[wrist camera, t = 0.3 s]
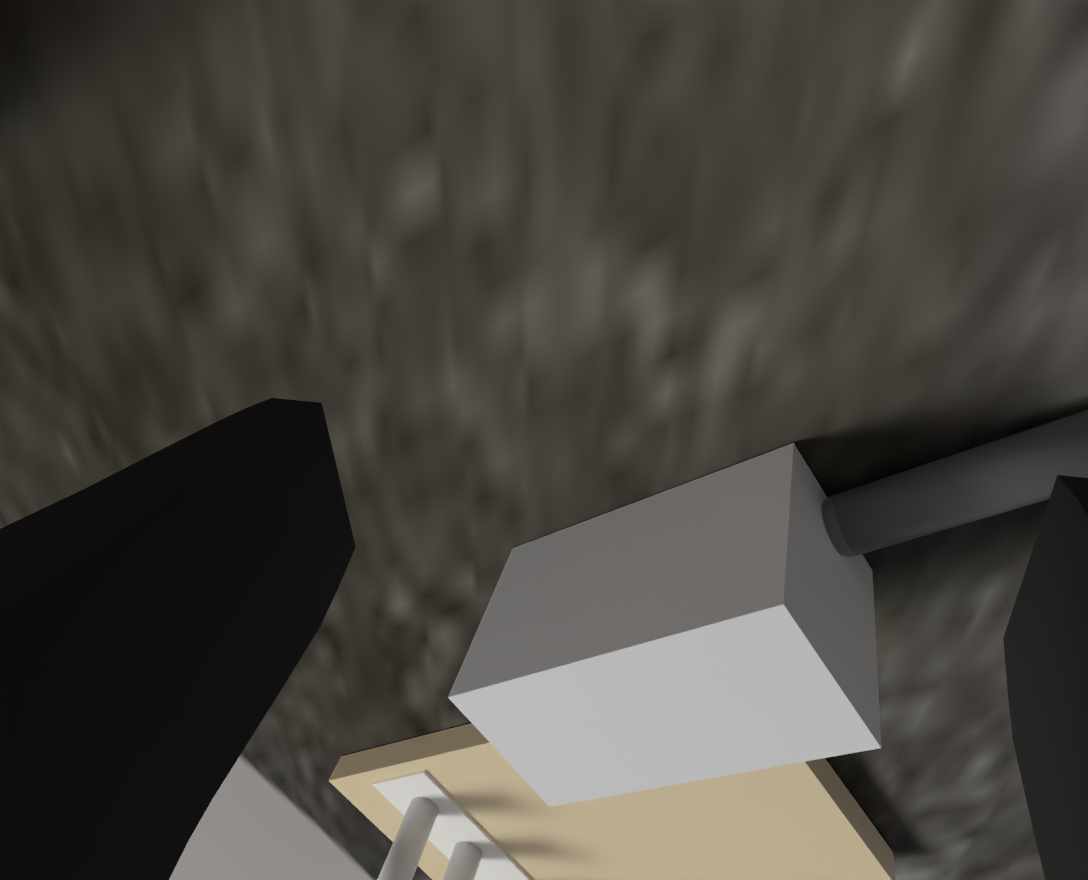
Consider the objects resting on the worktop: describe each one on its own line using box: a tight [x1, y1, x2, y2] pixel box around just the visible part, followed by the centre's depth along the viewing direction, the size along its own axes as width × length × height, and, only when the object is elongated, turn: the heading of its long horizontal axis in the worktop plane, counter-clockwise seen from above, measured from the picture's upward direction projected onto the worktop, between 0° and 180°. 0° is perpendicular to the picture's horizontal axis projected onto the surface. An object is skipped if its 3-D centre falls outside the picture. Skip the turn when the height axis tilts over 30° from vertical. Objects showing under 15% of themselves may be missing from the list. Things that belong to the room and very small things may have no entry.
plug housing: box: [448, 410, 1088, 807], centre depth 19 cm, size 4×14×5 cm, turn 125°
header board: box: [329, 723, 895, 880], centre depth 27 cm, size 9×16×5 cm, turn 125°
